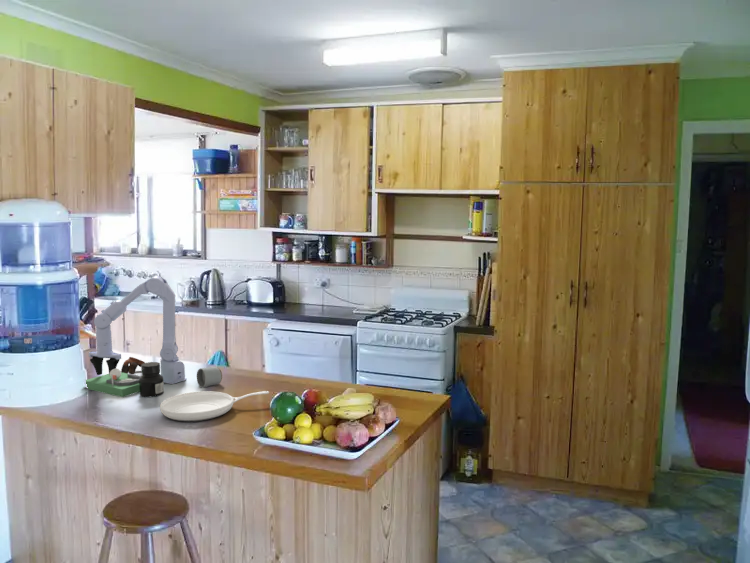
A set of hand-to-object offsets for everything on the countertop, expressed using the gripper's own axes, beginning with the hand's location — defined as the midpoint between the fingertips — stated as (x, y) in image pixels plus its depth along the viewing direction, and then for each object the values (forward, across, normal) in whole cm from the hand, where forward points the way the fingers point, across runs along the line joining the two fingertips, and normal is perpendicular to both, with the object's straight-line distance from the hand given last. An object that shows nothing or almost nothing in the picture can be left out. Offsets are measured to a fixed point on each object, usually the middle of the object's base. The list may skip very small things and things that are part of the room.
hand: (105, 375), depth 251 cm
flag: (+4, -13, +11) cm, 18 cm away
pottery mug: (+4, +1, -17) cm, 18 cm away
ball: (-1, -6, +1) cm, 6 cm away
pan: (+4, -61, +15) cm, 63 cm away
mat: (+4, -8, +2) cm, 9 cm away
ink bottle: (+4, -27, +6) cm, 28 cm away
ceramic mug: (+4, -40, -12) cm, 42 cm away
